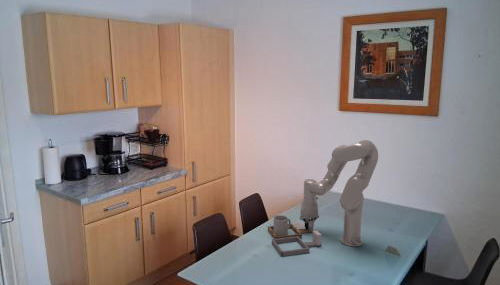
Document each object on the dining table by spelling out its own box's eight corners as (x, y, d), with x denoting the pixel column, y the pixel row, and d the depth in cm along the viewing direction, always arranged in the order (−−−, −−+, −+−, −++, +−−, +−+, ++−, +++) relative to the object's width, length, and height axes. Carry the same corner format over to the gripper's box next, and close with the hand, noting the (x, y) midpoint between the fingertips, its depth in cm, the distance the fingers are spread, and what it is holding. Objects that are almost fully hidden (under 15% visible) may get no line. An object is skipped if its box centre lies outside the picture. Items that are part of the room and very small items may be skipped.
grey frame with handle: (326, 250, 204) (326, 238, 203) (281, 256, 198) (281, 243, 196) (313, 238, 219) (314, 226, 218) (271, 243, 213) (272, 231, 212)
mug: (279, 239, 218) (280, 221, 216) (270, 234, 225) (270, 217, 223) (294, 234, 225) (295, 217, 223) (285, 229, 232) (285, 212, 230)
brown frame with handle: (317, 236, 222) (317, 224, 221) (276, 241, 216) (276, 229, 214) (306, 225, 237) (306, 215, 236) (267, 230, 231) (267, 219, 229)
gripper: (319, 196, 231) (318, 224, 235) (295, 198, 227) (294, 227, 230) (324, 200, 224) (323, 229, 228) (299, 203, 220) (299, 232, 223)
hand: (309, 228), depth 229 cm, fingers closed on brown frame with handle, 2 cm apart
